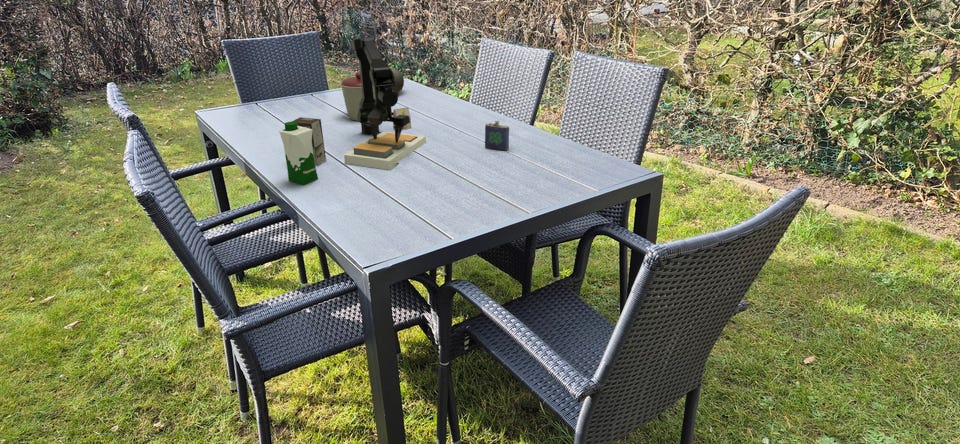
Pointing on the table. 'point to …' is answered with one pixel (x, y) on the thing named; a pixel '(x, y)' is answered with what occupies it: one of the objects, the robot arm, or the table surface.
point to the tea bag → (403, 112)
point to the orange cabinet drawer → (402, 137)
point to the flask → (496, 137)
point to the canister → (353, 95)
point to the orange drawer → (387, 142)
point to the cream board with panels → (389, 161)
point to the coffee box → (314, 137)
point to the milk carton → (299, 153)
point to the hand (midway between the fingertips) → (386, 140)
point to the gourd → (397, 81)
